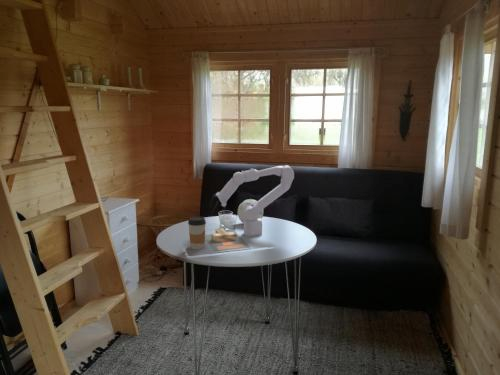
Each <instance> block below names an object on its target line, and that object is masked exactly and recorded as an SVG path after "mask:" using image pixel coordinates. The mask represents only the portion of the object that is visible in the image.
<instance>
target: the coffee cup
mask: <svg viewBox="0 0 500 375" xmlns="http://www.w3.org/2000/svg"><path fill="white" fill-rule="evenodd" d="M187 222H188V223H187V224H188V233H189V235H188V236H189V242H190V244H189V245H190V249H193V250H202V249H203V248H205V243H206V240H205V235H206V225H207V224H206V223H207V221H206V219H205V217H203V216H192V217H189V219H188V221H187Z"/></svg>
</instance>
